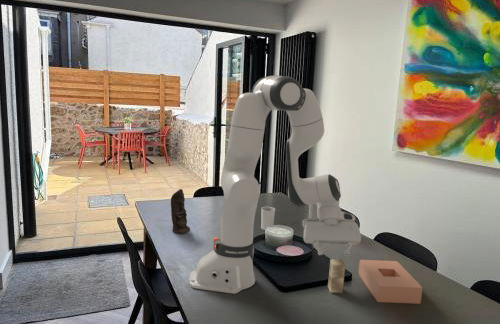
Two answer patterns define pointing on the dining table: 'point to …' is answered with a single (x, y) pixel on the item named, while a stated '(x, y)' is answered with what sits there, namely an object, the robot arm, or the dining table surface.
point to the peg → (336, 276)
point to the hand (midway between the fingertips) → (334, 255)
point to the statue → (179, 213)
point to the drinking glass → (267, 217)
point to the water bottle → (313, 211)
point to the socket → (390, 282)
